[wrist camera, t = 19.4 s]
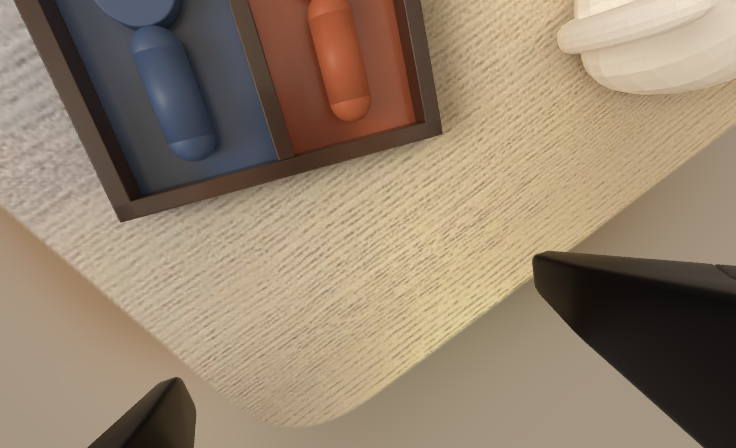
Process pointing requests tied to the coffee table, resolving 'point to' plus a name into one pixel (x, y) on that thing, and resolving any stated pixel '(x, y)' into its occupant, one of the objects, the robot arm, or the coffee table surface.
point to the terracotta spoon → (340, 58)
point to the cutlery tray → (232, 94)
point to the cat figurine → (654, 43)
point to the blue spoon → (166, 74)
